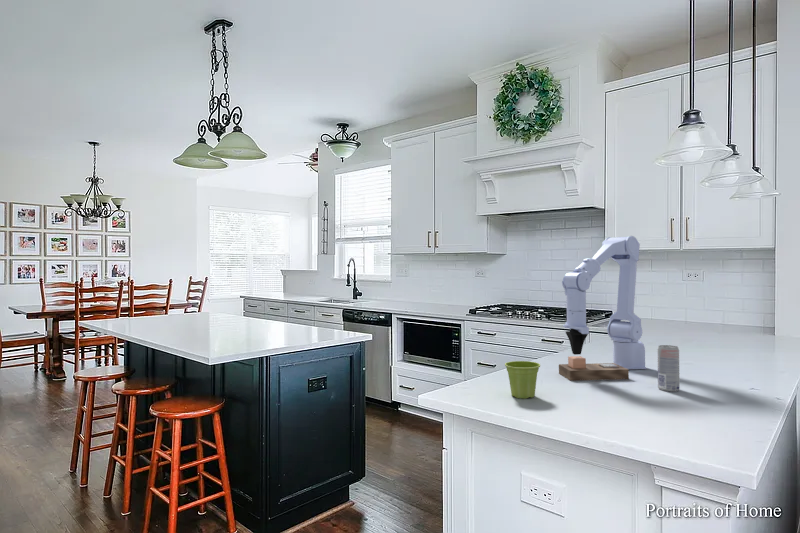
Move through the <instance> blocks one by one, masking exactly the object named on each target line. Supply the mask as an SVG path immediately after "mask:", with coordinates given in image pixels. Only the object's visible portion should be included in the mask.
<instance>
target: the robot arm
mask: <svg viewBox="0 0 800 533" xmlns="http://www.w3.org/2000/svg"><path fill="white" fill-rule="evenodd" d="M640 246H641V243H640V242H639V241H638V238H637V237H635V236H634V235H630V236H617V237H616V236H614V237H612V236H611V237H610V236H608V237H606V238H605V239H604V240H603V241H602V242H601V247H600V248H599V249H598V250H597V251H596V253H594V255H593V257H591V258H590V257H588V258H584V259H582V262H581V263H580V264H579V265H578V266H576V267H575V268H574V270H573V271H572V272H567V273H566V274H565V275H564V276H563V279H562V281H561V284H562V287H563V289H564V294H565V296H566V321H565V322H564V324H563V325H562V327H563V328H565V329H569V330H567V331H565V334H566V336H567V339H568V341H569V344H570V348H571V353H572V355H573V356H575V355H577V356H578V355H582V351H583V346H584V343H585V340H586V338H587V337H588V335H589V334H590V329H589V326H588V325H587V299H586V298H587V290H588V289H589V288H590V285H591V282H592V281H593V279H594V278H595V277H596V276H597V275H598V274H599V273H600V271H601V266H602V265H603V264H604V263H606V262H607V261H608V260H609V259H612V260H613V261H614V262H616V263H617V264H618V265H619V272H618V273H619V274H618V286H617V289H618V290H617V298H616V299H617V303H616V311H615V312H614V313H612V314H611V315H610V317H609V322H608V324H607V328H606V332H607V335H608V337H609V338H610V340H611V341H612V359H613V362H612V363H615V364H617V365H619V366H622V367H624V368H626V369H629V370H647V367H646V346H645V345H644V343H643V342H642V341H641V340H640V339H641V338H642V336H643V327H642V319H641V317H639V316H638V315H637V314H636V313H634V309H635V298H636V297H635V296H636V285H637V284H636V282H637V271H638V269H637V268H638V262H639V260H640V259H639V258H640Z"/></svg>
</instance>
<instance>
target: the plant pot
mask: <svg viewBox="0 0 800 533" xmlns="http://www.w3.org/2000/svg"><path fill="white" fill-rule="evenodd" d="M504 366H505V368H506V371H507V375H508V380H509V388H510V393H511V397H515V398H517V399H528V398H530V399H531V398H534V397H535V396H536V389H537V388H536V387H537V379H538V377H537V376H538V372H539V369H540V368H541V363H539V362H535V361H528V360H526V361H525V360H514V361H507V362H505V363H504Z"/></svg>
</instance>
